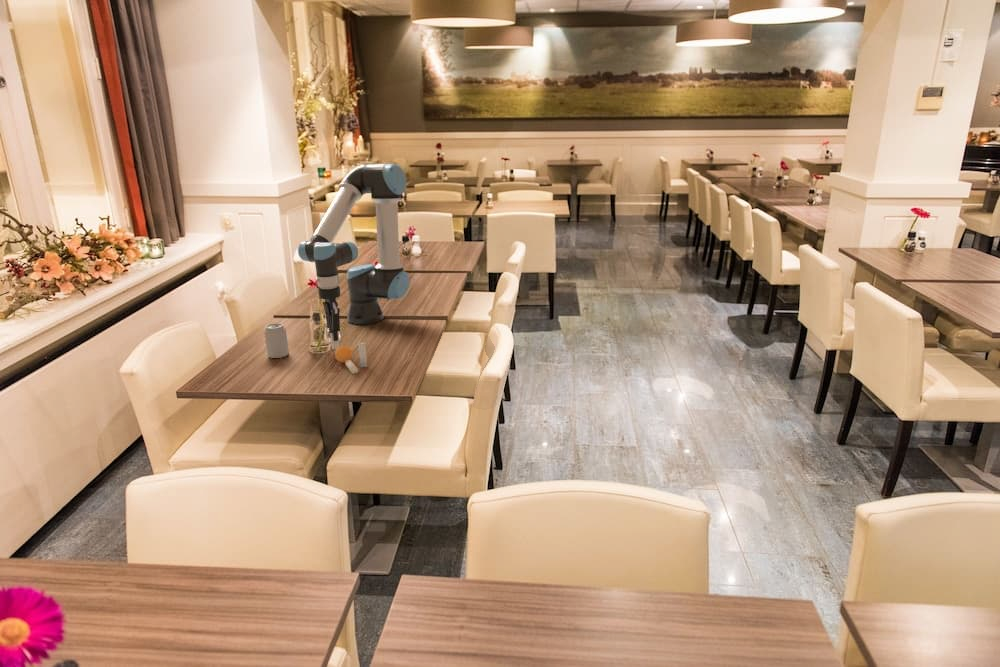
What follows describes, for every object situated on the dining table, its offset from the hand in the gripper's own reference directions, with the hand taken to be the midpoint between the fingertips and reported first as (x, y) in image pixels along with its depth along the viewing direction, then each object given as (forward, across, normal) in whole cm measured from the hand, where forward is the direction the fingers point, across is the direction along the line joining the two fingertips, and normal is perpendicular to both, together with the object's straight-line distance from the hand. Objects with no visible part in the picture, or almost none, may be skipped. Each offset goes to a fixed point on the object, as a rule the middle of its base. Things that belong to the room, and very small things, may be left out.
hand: (335, 347), depth 248 cm
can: (+2, -9, -19) cm, 21 cm away
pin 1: (+1, +15, 0) cm, 15 cm away
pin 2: (+2, +19, +4) cm, 20 cm away
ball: (-1, +11, 0) cm, 11 cm away
